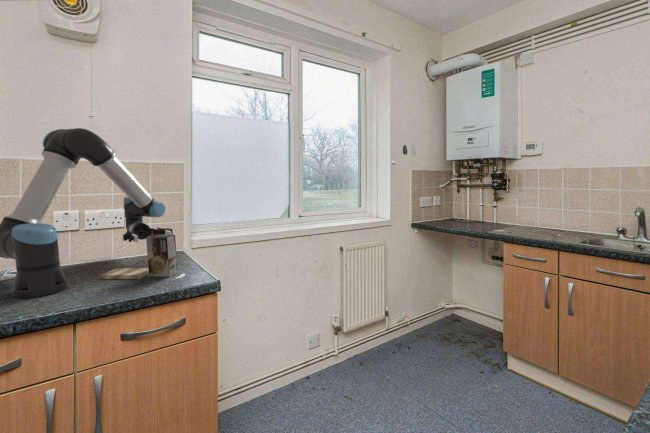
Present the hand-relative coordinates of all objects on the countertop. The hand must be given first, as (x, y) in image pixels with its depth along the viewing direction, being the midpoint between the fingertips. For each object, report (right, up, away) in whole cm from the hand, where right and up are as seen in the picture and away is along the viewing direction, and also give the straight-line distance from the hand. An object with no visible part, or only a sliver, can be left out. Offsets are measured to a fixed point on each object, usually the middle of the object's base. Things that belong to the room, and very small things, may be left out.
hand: (154, 237), depth 144 cm
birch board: (-7, -15, -7) cm, 18 cm away
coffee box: (+7, -15, -6) cm, 18 cm away
